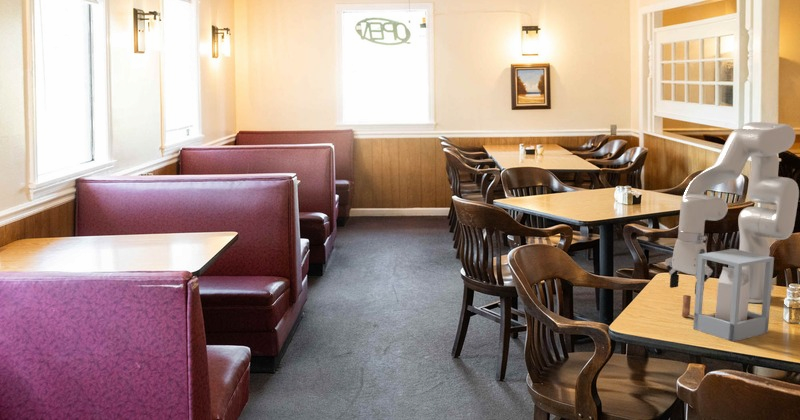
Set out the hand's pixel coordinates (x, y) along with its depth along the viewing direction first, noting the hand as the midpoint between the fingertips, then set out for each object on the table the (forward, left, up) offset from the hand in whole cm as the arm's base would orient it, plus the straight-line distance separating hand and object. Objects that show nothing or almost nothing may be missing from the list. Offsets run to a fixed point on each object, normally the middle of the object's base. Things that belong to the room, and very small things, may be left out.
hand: (686, 290), depth 266 cm
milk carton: (-1, +16, -9) cm, 19 cm away
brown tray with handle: (-1, +10, -8) cm, 13 cm away
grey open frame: (-1, +16, -9) cm, 19 cm away
